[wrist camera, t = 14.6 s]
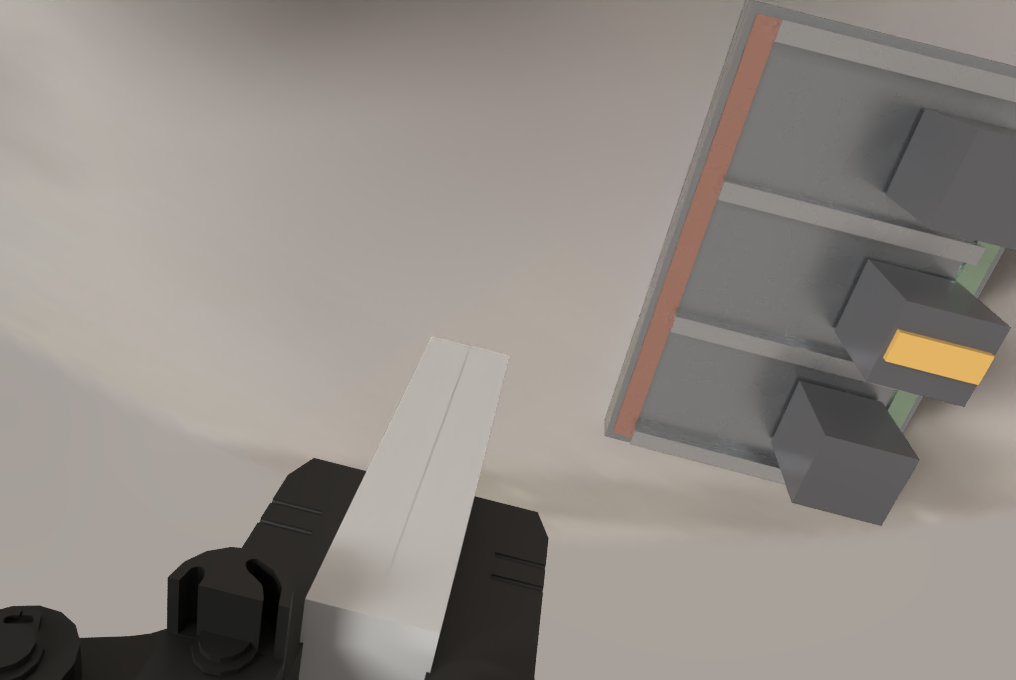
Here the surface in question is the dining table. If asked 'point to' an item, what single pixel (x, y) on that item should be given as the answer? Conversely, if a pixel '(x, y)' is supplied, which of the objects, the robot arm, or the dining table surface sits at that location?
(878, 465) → the block
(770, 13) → the panel
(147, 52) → the dining table surface
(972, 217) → the breaker
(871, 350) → the block
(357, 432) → the dining table surface
